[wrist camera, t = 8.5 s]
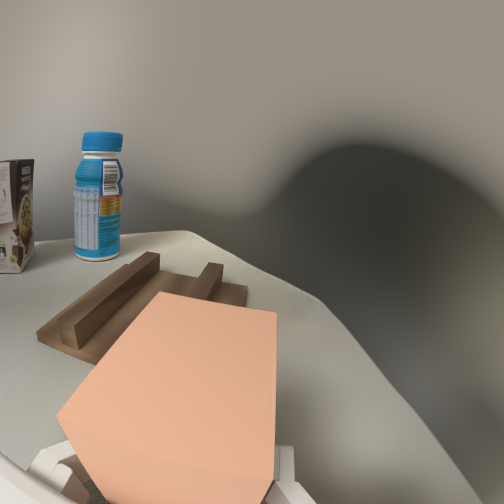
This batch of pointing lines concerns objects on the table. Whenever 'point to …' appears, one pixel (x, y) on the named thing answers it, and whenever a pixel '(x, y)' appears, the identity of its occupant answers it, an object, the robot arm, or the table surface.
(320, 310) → the table surface
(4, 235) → the coffee box
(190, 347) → the tall peach pillar
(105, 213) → the beverage bottle
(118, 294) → the walnut rack
